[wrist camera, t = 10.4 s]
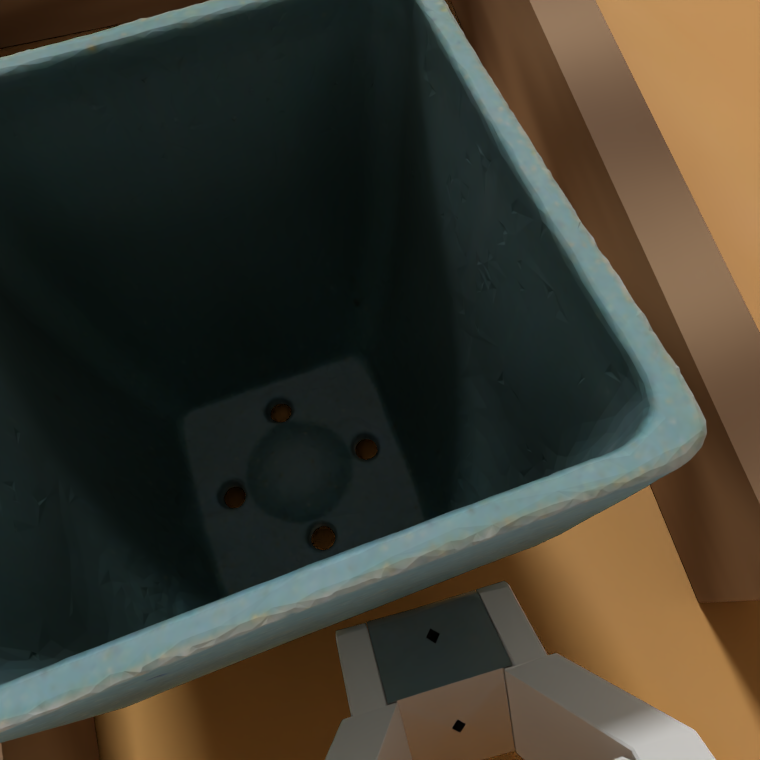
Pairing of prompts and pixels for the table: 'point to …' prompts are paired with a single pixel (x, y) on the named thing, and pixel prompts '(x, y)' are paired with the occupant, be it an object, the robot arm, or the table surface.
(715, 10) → the table surface
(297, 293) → the flower pot
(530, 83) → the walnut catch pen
